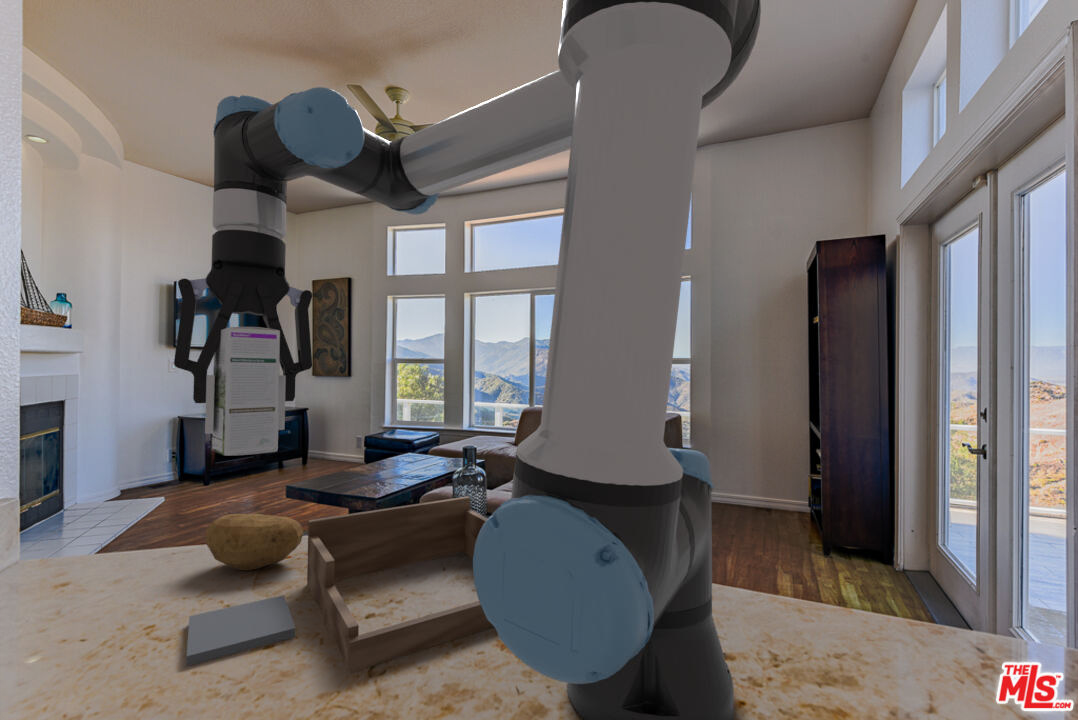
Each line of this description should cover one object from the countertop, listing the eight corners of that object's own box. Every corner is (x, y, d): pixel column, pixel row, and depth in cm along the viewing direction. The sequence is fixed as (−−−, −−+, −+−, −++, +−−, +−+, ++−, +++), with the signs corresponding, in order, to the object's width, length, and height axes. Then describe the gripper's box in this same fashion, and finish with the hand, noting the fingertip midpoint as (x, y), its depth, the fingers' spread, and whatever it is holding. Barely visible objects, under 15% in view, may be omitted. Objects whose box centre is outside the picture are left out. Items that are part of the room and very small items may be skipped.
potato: (281, 580, 70) (283, 524, 71) (187, 578, 71) (189, 523, 71) (315, 556, 80) (316, 506, 80) (232, 554, 81) (233, 505, 81)
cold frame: (553, 607, 63) (553, 536, 63) (350, 673, 49) (351, 581, 49) (467, 549, 83) (467, 496, 84) (307, 584, 69) (308, 520, 69)
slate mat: (295, 636, 55) (295, 628, 55) (186, 666, 50) (186, 656, 50) (283, 602, 63) (283, 595, 63) (189, 624, 58) (189, 616, 58)
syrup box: (279, 451, 57) (283, 329, 58) (221, 457, 53) (226, 324, 54) (263, 446, 61) (267, 331, 62) (208, 451, 57) (213, 327, 58)
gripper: (330, 254, 67) (327, 423, 66) (149, 229, 56) (143, 432, 55) (343, 242, 60) (339, 428, 60) (142, 211, 50) (135, 439, 49)
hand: (245, 430), depth 57 cm, fingers closed on syrup box, 6 cm apart
